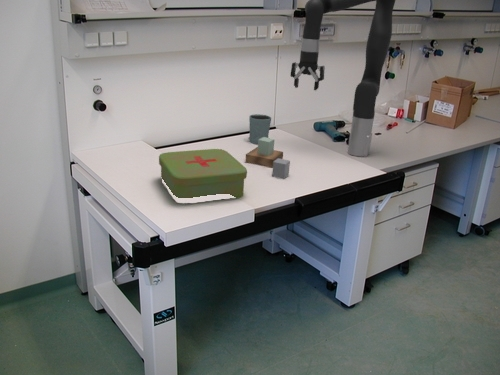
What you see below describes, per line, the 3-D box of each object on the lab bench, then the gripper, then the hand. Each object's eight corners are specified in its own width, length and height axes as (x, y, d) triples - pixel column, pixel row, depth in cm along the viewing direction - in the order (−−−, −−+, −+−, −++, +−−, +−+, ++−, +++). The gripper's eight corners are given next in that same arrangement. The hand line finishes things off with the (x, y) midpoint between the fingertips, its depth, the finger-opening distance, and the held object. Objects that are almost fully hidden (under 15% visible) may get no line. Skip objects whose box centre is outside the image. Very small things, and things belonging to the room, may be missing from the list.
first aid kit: (175, 207, 159) (175, 178, 156) (156, 178, 181) (156, 152, 177) (249, 198, 170) (251, 171, 166) (222, 172, 191) (223, 147, 188)
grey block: (288, 175, 192) (290, 160, 190) (284, 179, 188) (285, 164, 186) (276, 172, 194) (278, 158, 192) (272, 176, 190) (273, 161, 188)
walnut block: (282, 160, 209) (283, 151, 207) (272, 169, 199) (272, 159, 197) (256, 155, 213) (257, 146, 212) (245, 163, 203) (245, 154, 201)
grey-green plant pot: (244, 142, 228) (246, 117, 223) (252, 137, 237) (254, 112, 232) (265, 146, 225) (267, 120, 220) (272, 140, 233) (274, 116, 229)
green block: (273, 152, 205) (274, 139, 203) (268, 156, 201) (269, 142, 199) (262, 150, 207) (263, 136, 205) (257, 153, 203) (258, 139, 201)
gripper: (328, 51, 205) (324, 89, 211) (296, 47, 210) (293, 85, 216) (323, 52, 199) (319, 92, 205) (290, 48, 204) (287, 87, 210)
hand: (305, 88), depth 211 cm, fingers open, 8 cm apart
